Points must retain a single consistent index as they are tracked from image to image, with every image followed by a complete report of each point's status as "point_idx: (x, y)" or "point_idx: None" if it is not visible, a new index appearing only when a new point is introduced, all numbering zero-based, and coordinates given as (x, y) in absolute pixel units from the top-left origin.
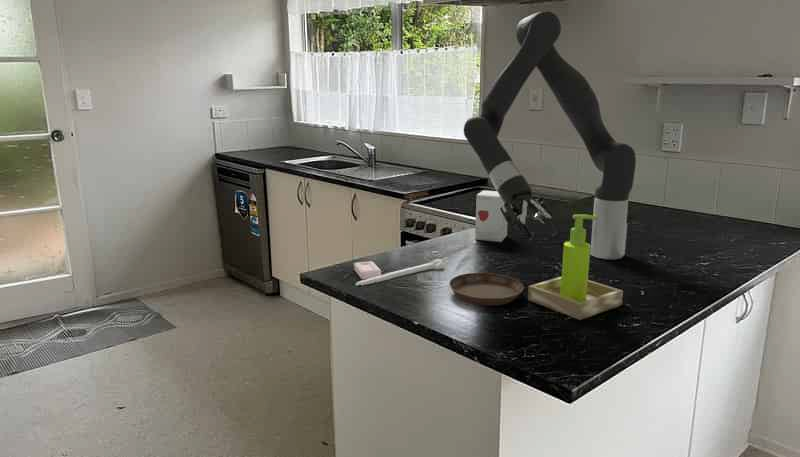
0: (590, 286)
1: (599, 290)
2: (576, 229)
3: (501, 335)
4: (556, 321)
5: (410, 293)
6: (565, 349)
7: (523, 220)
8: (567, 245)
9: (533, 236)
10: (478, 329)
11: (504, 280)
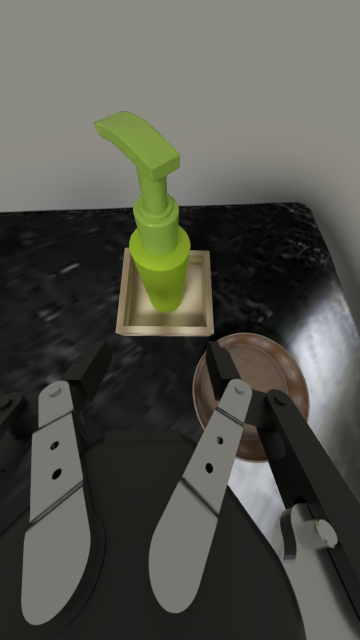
0: (128, 293)
1: (130, 280)
2: (172, 200)
3: (300, 285)
4: (228, 275)
5: (342, 468)
6: (267, 235)
7: (239, 390)
8: (188, 249)
9: (209, 341)
10: (314, 308)
11: (197, 401)
